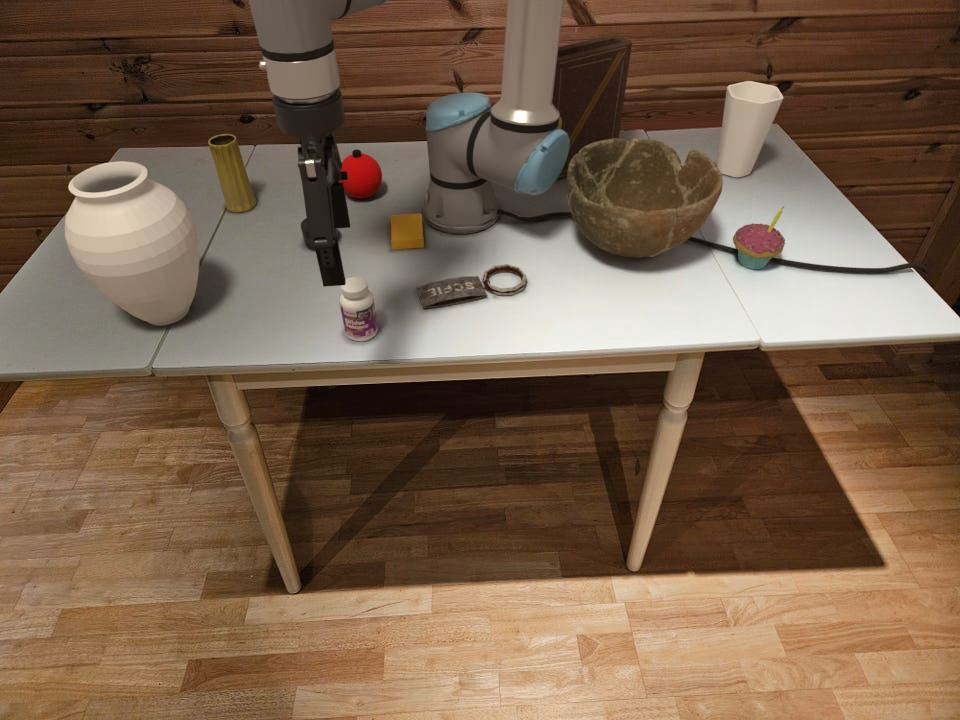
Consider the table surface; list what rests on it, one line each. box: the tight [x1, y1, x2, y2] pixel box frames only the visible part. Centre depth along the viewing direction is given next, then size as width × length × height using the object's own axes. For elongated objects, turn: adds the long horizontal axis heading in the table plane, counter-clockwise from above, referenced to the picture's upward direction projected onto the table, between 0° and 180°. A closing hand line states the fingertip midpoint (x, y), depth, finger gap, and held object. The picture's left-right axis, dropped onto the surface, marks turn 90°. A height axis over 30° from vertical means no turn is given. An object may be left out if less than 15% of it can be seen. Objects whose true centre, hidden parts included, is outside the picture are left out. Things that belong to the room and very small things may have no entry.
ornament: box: [339, 148, 383, 199], centre depth 134 cm, size 9×9×10 cm
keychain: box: [416, 263, 527, 309], centre depth 113 cm, size 8×19×2 cm, turn 106°
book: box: [552, 34, 633, 181], centre depth 137 cm, size 22×8×25 cm, turn 120°
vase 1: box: [64, 161, 200, 327], centre depth 102 cm, size 18×18×25 cm
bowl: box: [566, 137, 724, 259], centre depth 119 cm, size 28×27×15 cm
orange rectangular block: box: [390, 212, 425, 250], centre depth 126 cm, size 6×9×2 cm, turn 6°
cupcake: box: [732, 205, 786, 270], centre depth 115 cm, size 9×8×12 cm
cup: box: [716, 80, 784, 178], centre depth 138 cm, size 11×10×17 cm
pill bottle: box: [338, 276, 379, 342], centre depth 103 cm, size 5×5×10 cm
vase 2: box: [207, 133, 257, 214], centre depth 131 cm, size 6×6×14 cm
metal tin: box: [300, 217, 339, 251], centre depth 124 cm, size 6×6×4 cm
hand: (337, 254), depth 86 cm, fingers open, 12 cm apart
